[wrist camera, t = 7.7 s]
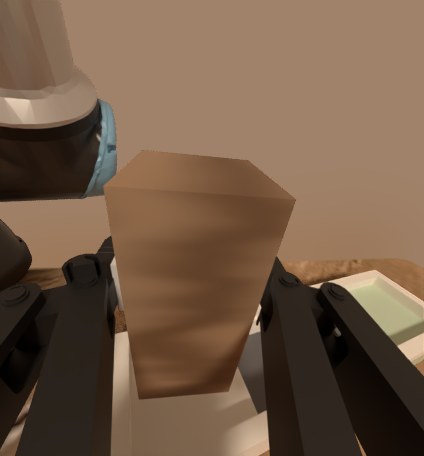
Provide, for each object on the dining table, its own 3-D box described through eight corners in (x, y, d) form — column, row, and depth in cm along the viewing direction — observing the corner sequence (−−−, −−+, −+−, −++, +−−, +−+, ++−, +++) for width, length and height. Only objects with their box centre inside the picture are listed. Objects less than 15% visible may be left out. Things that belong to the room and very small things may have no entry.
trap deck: (115, 538, 12) (102, 529, 9) (119, 361, 20) (113, 334, 17) (438, 351, 24) (464, 328, 22) (361, 290, 32) (375, 269, 30)
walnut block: (138, 399, 11) (103, 186, 5) (152, 317, 15) (142, 150, 9) (228, 391, 11) (295, 199, 5) (217, 315, 16) (248, 160, 10)
